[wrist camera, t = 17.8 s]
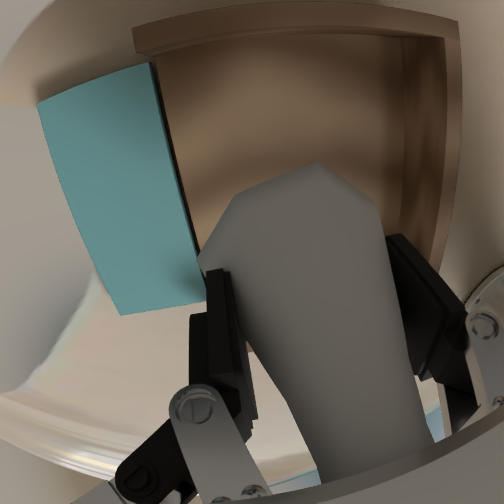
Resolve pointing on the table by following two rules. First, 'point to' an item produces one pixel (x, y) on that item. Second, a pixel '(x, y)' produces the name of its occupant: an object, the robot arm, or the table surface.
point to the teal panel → (124, 189)
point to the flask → (323, 316)
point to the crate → (315, 106)
